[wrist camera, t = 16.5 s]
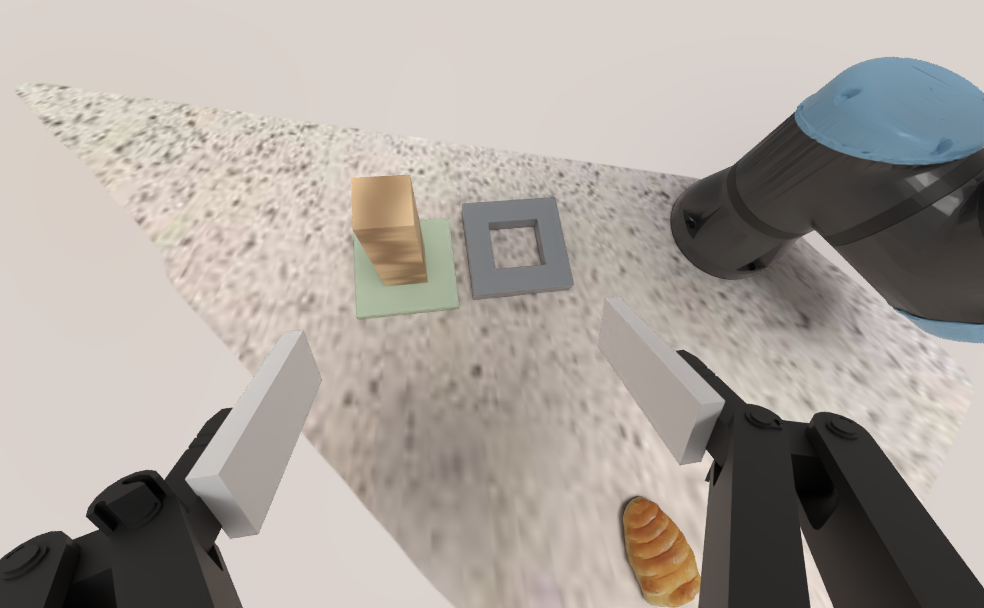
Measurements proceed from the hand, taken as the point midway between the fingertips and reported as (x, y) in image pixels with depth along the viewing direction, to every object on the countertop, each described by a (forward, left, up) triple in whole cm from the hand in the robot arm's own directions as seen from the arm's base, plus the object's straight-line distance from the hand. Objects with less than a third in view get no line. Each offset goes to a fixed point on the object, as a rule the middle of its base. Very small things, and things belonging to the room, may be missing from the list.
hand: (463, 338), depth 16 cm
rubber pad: (+14, -7, -26) cm, 31 cm away
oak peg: (+14, -7, -25) cm, 30 cm away
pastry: (-28, +1, -27) cm, 38 cm away
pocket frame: (+5, -18, -26) cm, 32 cm away
